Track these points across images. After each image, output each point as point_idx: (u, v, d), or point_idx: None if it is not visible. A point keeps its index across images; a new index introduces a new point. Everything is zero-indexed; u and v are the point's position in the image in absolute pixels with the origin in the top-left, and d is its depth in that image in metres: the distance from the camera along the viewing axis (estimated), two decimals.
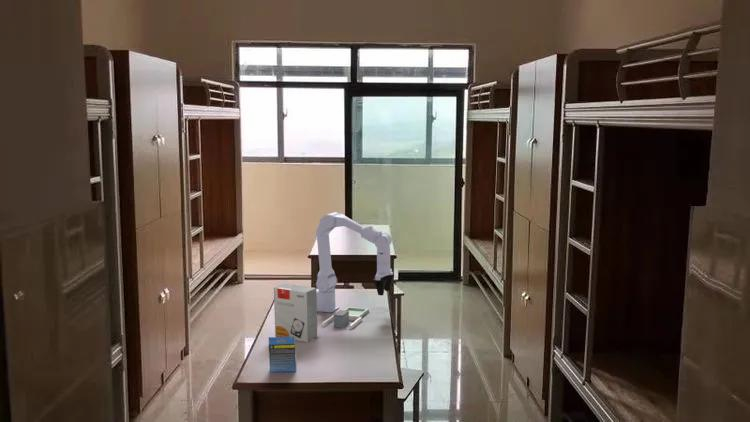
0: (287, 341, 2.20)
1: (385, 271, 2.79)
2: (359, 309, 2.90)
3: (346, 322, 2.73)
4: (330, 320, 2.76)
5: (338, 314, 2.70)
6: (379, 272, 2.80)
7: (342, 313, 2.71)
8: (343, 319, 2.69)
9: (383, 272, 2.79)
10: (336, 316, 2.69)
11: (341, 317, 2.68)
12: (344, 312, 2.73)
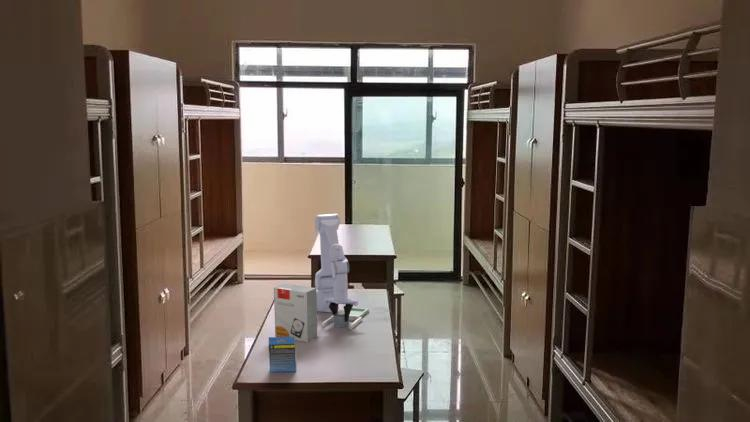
0: (287, 341, 2.20)
1: (334, 298, 2.70)
2: (359, 309, 2.90)
3: (346, 322, 2.73)
4: (330, 320, 2.76)
5: (338, 314, 2.70)
6: None
7: (342, 313, 2.71)
8: (343, 319, 2.69)
9: (334, 298, 2.71)
10: (336, 316, 2.69)
11: (341, 317, 2.68)
12: (344, 312, 2.73)
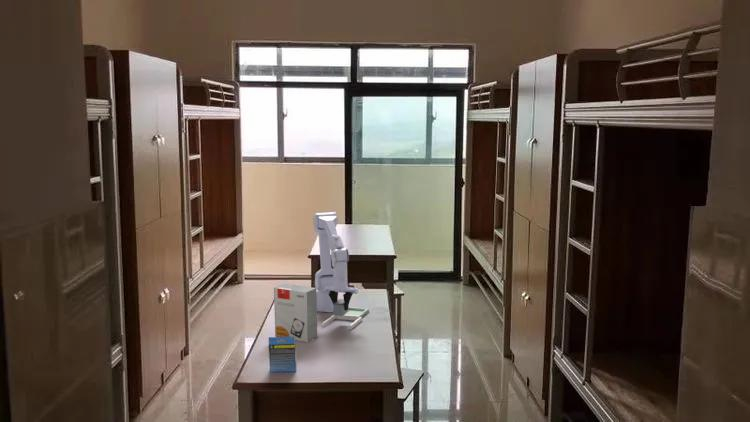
0: (287, 341, 2.20)
1: (334, 286, 2.70)
2: (359, 309, 2.90)
3: (346, 311, 2.72)
4: (330, 320, 2.76)
5: (338, 303, 2.69)
6: None
7: (342, 302, 2.71)
8: (343, 307, 2.69)
9: (333, 286, 2.71)
10: (336, 305, 2.68)
11: (341, 305, 2.68)
12: None
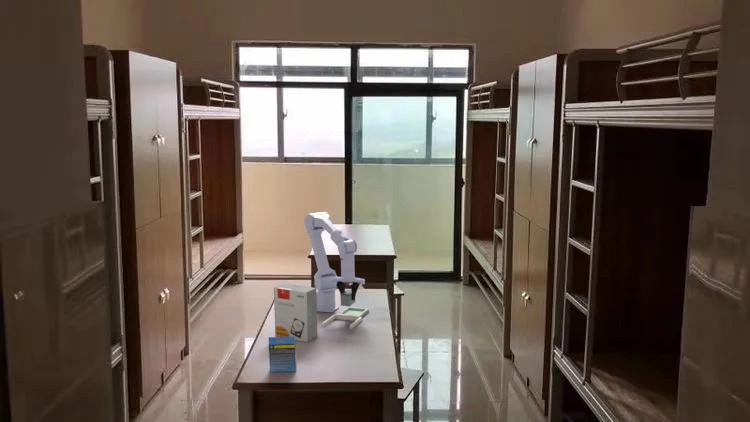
0: (287, 341, 2.20)
1: (341, 277, 2.77)
2: (359, 309, 2.90)
3: (353, 301, 2.79)
4: (330, 320, 2.76)
5: (345, 293, 2.77)
6: None
7: (349, 292, 2.78)
8: (350, 298, 2.76)
9: (341, 277, 2.78)
10: (343, 295, 2.76)
11: (348, 296, 2.75)
12: (351, 291, 2.79)
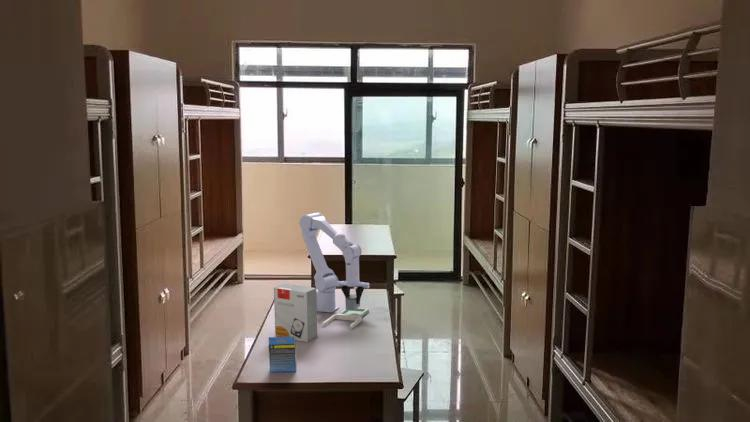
0: (287, 341, 2.20)
1: (346, 281, 2.83)
2: (359, 309, 2.90)
3: (357, 305, 2.85)
4: (330, 320, 2.76)
5: (350, 297, 2.82)
6: None
7: (353, 297, 2.83)
8: (355, 302, 2.81)
9: (346, 281, 2.84)
10: (348, 299, 2.81)
11: (353, 300, 2.81)
12: (355, 296, 2.85)
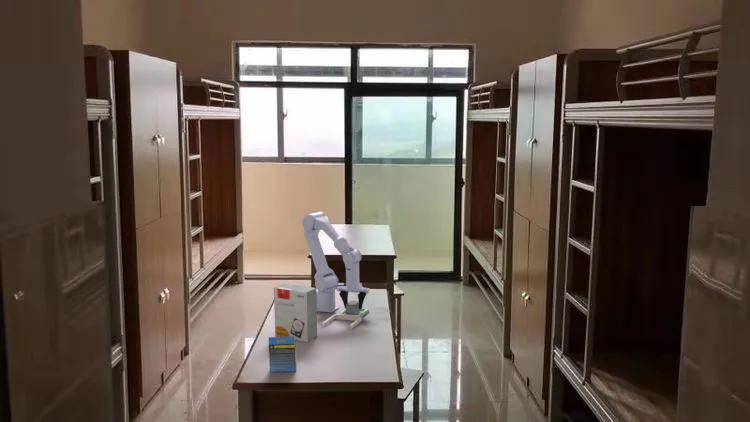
0: (287, 341, 2.20)
1: (346, 286, 2.83)
2: None
3: (357, 311, 2.85)
4: (330, 320, 2.76)
5: (350, 304, 2.83)
6: None
7: (354, 303, 2.84)
8: (355, 308, 2.82)
9: (346, 286, 2.84)
10: (348, 306, 2.82)
11: (353, 307, 2.81)
12: (355, 302, 2.85)
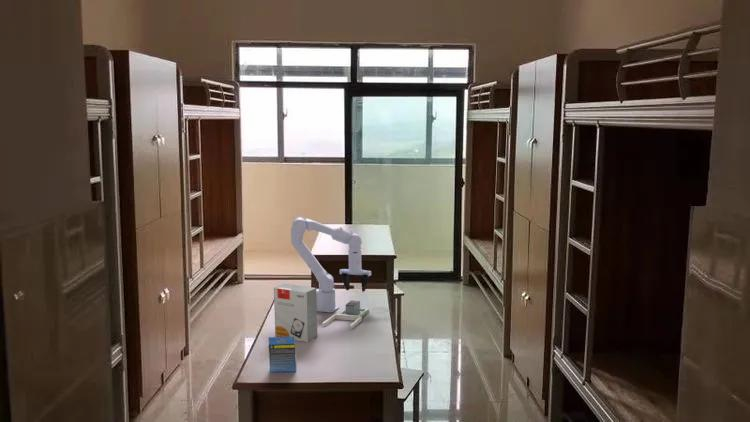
0: (287, 341, 2.20)
1: (349, 269, 2.92)
2: None
3: (357, 311, 2.85)
4: (330, 320, 2.76)
5: (350, 304, 2.83)
6: None
7: (354, 303, 2.84)
8: (355, 308, 2.82)
9: (348, 269, 2.93)
10: (348, 306, 2.82)
11: (353, 307, 2.81)
12: (355, 302, 2.85)
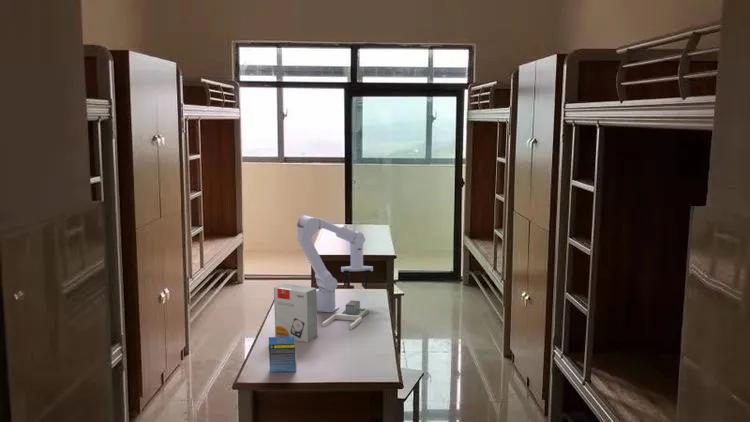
0: (287, 341, 2.20)
1: (352, 266, 2.98)
2: None
3: (357, 311, 2.85)
4: (330, 320, 2.76)
5: (350, 304, 2.83)
6: None
7: (354, 303, 2.84)
8: (355, 308, 2.82)
9: (351, 266, 2.99)
10: (348, 306, 2.82)
11: (353, 307, 2.81)
12: (355, 302, 2.85)
